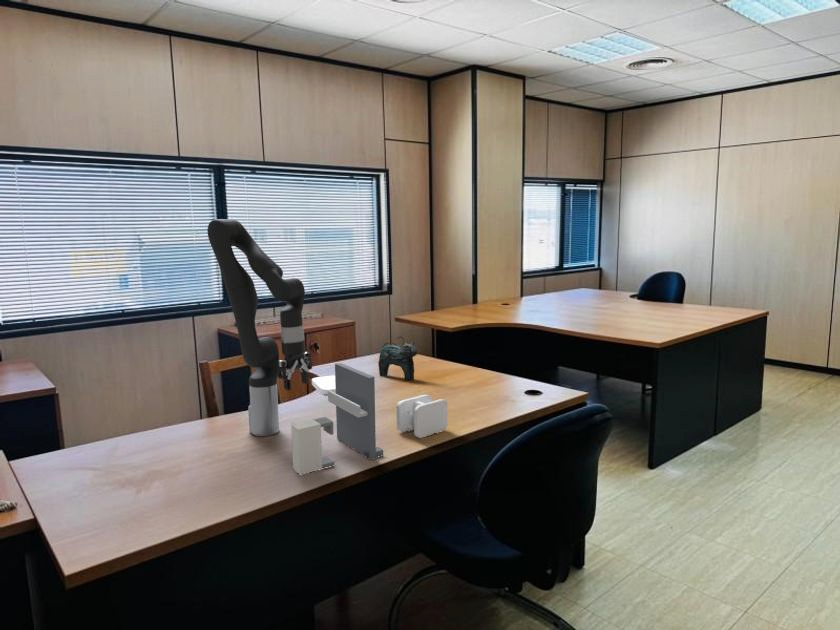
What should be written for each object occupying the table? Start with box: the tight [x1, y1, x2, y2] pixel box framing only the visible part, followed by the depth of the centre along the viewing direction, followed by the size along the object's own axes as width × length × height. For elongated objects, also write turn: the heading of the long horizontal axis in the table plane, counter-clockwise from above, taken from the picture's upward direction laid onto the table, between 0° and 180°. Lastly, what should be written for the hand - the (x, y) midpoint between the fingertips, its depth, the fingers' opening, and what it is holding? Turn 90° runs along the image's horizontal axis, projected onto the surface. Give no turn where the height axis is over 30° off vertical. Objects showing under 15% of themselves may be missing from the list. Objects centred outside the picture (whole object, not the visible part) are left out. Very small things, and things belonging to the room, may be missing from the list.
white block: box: [290, 416, 335, 475], centre depth 169 cm, size 5×11×14 cm, turn 125°
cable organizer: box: [396, 394, 449, 439], centre depth 198 cm, size 15×11×12 cm
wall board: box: [327, 362, 384, 460], centre depth 183 cm, size 22×8×26 cm, turn 35°
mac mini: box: [311, 374, 336, 396], centre depth 256 cm, size 22×22×3 cm
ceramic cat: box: [378, 336, 418, 382], centre depth 268 cm, size 20×6×20 cm, turn 58°
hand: (296, 386), depth 192 cm, fingers open, 8 cm apart
